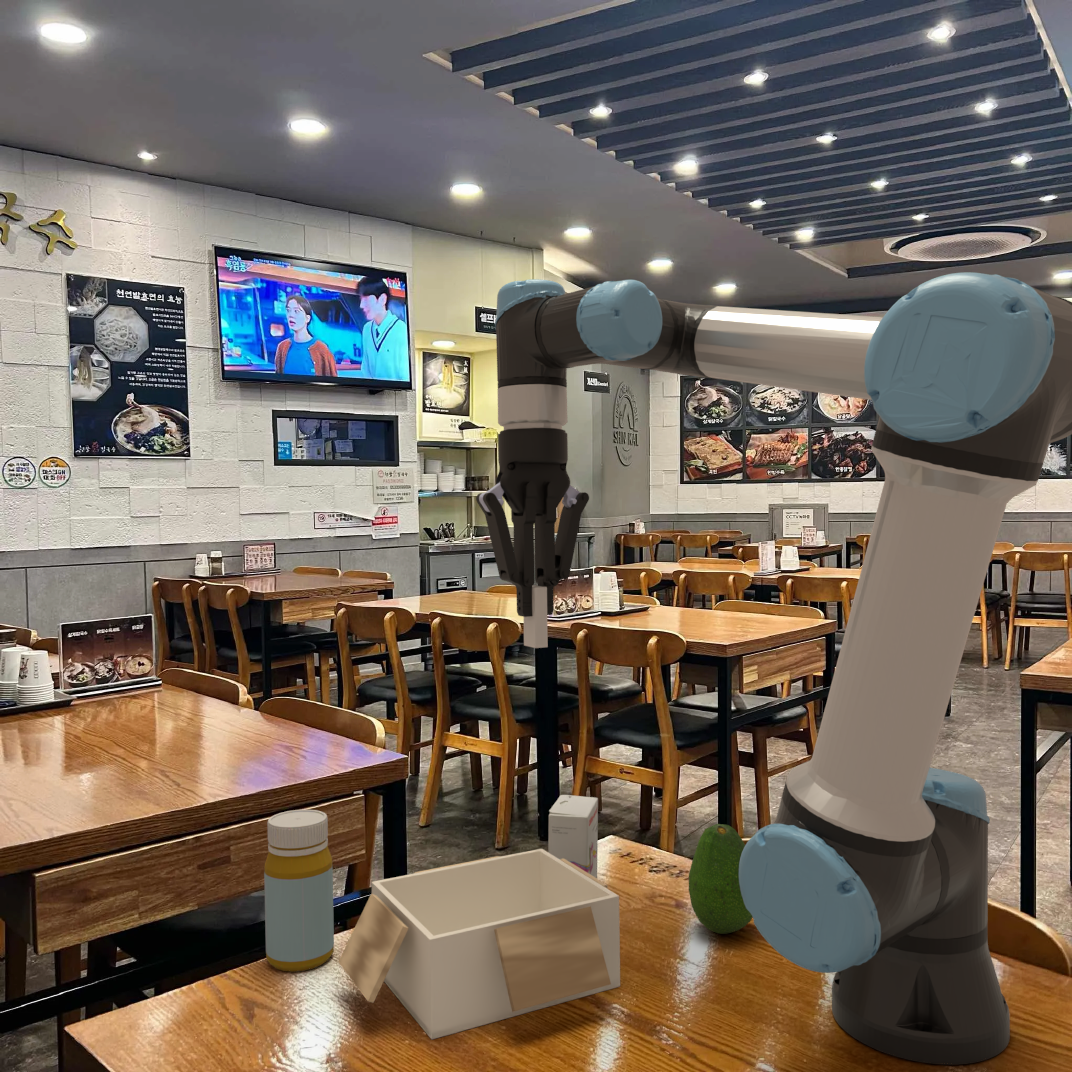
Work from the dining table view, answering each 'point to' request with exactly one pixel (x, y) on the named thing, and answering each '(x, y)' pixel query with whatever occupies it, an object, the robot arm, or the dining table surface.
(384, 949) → the left flap
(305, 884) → the bottle
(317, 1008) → the dining table surface
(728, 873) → the fruit
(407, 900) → the carton
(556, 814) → the ink box
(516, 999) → the near flap
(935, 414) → the robot arm
